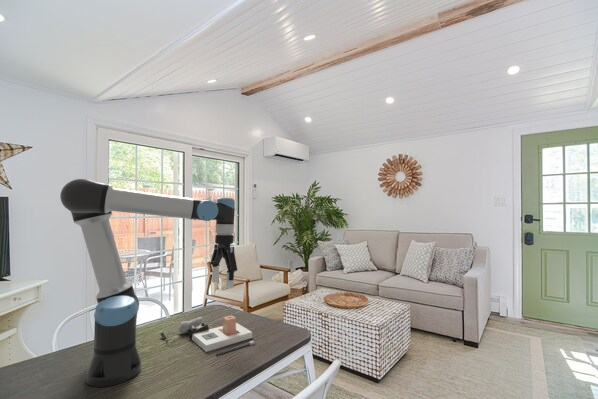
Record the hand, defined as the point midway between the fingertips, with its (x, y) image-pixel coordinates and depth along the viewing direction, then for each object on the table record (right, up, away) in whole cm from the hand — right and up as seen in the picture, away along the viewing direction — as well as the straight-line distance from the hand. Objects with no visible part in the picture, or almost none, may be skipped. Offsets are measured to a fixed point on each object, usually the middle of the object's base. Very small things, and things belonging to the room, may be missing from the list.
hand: (222, 285), depth 126 cm
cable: (+7, -21, -12) cm, 25 cm away
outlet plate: (+1, -22, -2) cm, 22 cm away
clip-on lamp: (-16, -22, +1) cm, 28 cm away
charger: (+3, -22, 0) cm, 22 cm away
